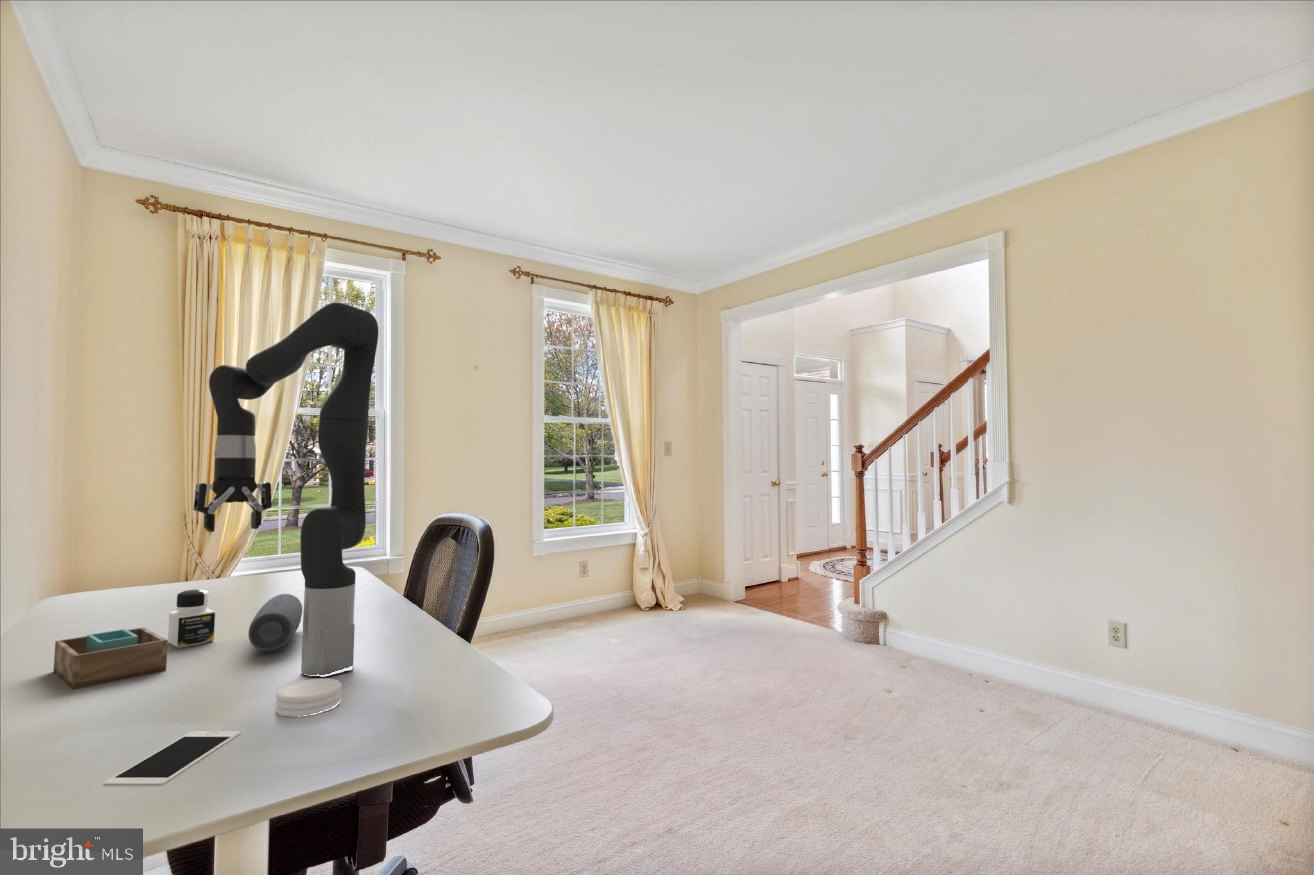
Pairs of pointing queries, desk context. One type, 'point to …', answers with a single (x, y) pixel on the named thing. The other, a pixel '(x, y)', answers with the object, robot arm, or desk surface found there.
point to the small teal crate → (110, 640)
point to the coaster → (308, 697)
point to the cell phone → (173, 758)
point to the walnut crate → (109, 660)
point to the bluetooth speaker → (275, 622)
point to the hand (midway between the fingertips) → (233, 530)
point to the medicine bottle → (191, 619)
